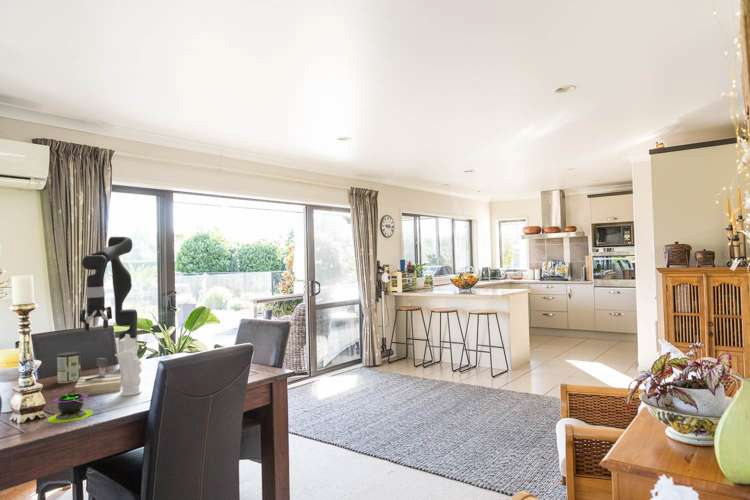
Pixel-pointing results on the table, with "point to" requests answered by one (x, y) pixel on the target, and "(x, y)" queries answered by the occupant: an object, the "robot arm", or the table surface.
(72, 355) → the grey-green carton
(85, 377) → the dial board
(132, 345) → the milk
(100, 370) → the lever
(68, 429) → the table surface
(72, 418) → the toy cauldron
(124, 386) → the cherub figurine
